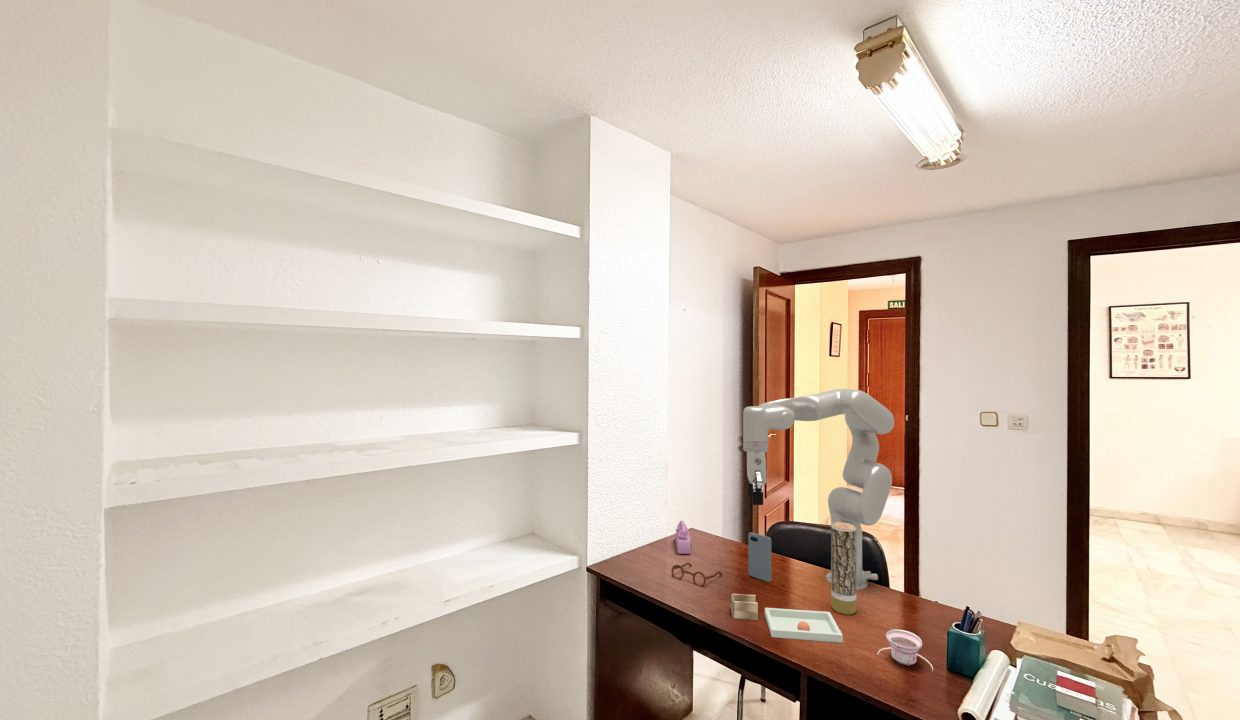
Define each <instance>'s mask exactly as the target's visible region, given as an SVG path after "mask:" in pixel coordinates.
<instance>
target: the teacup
mask: <svg viewBox="0 0 1240 720" xmlns="http://www.w3.org/2000/svg"><path fill="white" fill-rule="evenodd" d="M885 637H886V640H887V641H888V643H889V645H890V646H889V647H882V648H880V649H879V650H878V652H877V654H879V653H880V652H881V651H883V650H888V649H889V650H890V649H891V654H890V655H891V657H892V659H894V660H895V662H897V663H898V664H901V665H905V666H911V665H915V664H916V663H917V661H918V660H917V657H920V658H921V659H923V660H924V661H925V662H927V663H928V664H929V665H930V667H931V668H932V670H931V672H933V670H934V667H933V664H931V662H930V661H929V660H928V659H926V657H924V656H922V655H920V654H919V652H920V649H922V647H923V641H922V639H921V638H920V636H918V635H917V634H915V633H914V632H912V631H908V630H905V629H904V630H903V629H900V628H899V629H897V628H896V629H889V630H888V631H887V632H886V633H885Z"/></svg>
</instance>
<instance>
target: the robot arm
mask: <svg viewBox="0 0 1240 720" xmlns="http://www.w3.org/2000/svg"><path fill="white" fill-rule="evenodd" d="M841 415H844V419H845V424H846V425H847V427H848V429H849V431H850V434H851V439H852V442H851V447H850V450H849V452H848V456H847V459H846V460H845V464H844V466H843V470H842V478H843V480H844V481H845V482H846V483H847V484H848V485H850V486H853V487H856V488H859V489H862V492H861V491H858V490H855V489H852V488H849V487H845V486H843V487H842V486H840V487H836V488H833V489H832V490H831V491H830V493H829V494H828V497H827V504H828V505H827V506H828V511H829V516H830V523H831V524H832V523H835V522H843V523H849V524H852V525H854V526H856V591H861V590H864V589H866V588H867V587H868V580H871V581H878V580H879V575H878V574H877V573H872V572H871V571H870V570H864V569H863V529H862V525H864V526H873V525H875V524H876V523H878V522H879V521H880V519H881V518H882V515H883V512H884V510H885V506H886V503H887V501H888V498H889V496H890V495H889V494H890V492H891V489H892V485H893V477H892V473H891V470H890V469H889V468H888V467H887V466H886V465H884V464H882V463H879V462H877V459H878V455H879V452H880V442H879V439H878V437H877V435H885V434H889V433H890V432H891V431H892V430H893V429H894V426H895V417H894V415H893V413H892V412H891V411H890V410H889V409H888V408H887V407H886V406H884V405H883V404H882V403H880V402H879V401H878V400H876V399H875V398H874V397H872V396H871V395H870V394H868V393H867V392H865V391H862V390H861V389H860V390H859V389H850V388H848V389H847V388H836V389H831V390H826V391H822V392H819V393H814V394H809V395H802V396H796V397H795V396H794V397H789V398H783V399H782V398H781V399H777V400H773V401H768V402H764V403H761V404H759V405H758V406H756V405H755V406H754V405H753V406H752V405H751V406H746V407H745V408H744V409H743V415H742V416H743V417H742V419H743V421H742V423H743V424H742V425H743V427H742V428H743V432H742V435H743V436H742V437H743V445H742V447H743V448H742V450H743V451H744V452H746V472H747V473H746V474H747V479H748V487H747V488H748V491H747V492H748V496H749V497H752V498H751V501H752V505H753V506H764V488H763V484H764V485H767V480H768V479H767V458H766V453H767V452H769V430H778V431H785V430H787V429H790V428H792V426H793V425H794V423H795V421H797V422H815V421H821V420H824V419H827V418H832V417H836V416H841ZM876 434H877V435H876ZM831 526H832V525H830V527H831ZM825 577H826V581H827V582H828V583H829V584H831V571H830V572H827V574H826V576H825Z"/></svg>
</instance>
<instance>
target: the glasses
mask: <svg viewBox="0 0 1240 720" xmlns="http://www.w3.org/2000/svg"><path fill="white" fill-rule="evenodd" d="M686 566H690V567H693V565H692V564H691V562H685V563H683V564H682V565H680V564H675V565H673V566H672V567H671V576H672V578H673V579H677V580H678V581H681V580H682V579H683V578H684V574H688V575H691V576H692V582H693V585H694V586H697V587H700V588H703V587H705V585H706V582H707V580H709V579H712V578H715V577H716V576H717V575H720V576H721V577H723V573H722V572H721V571H716V572H715V573H714V574H712V575H709V576H706V575H705V574H704V573H703V572H701V571H695V572H694V573H693V572H691V571H688V570H684V568H685V567H686ZM676 569H680V570H681V576H680V577H679V578H678V577H677V576H675V573H674V570H676ZM697 574H699V575H701V576H702V577H703V583H702V584H698V583H697V582H696V575H697Z"/></svg>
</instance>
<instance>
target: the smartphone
mask: <svg viewBox="0 0 1240 720" xmlns="http://www.w3.org/2000/svg"><path fill="white" fill-rule="evenodd" d="M747 539H748V540H747V541H748V545H747V547H748V553H747V554H748V556H747V558H748V561H747V562H748V563H747V564H748V566H747V567H748V570H747V571H748V573H747V574H748V576H750V577H753V578H756V579H759V580H762V581H765V582H768V583H770V582H771V581H772V538H771V537H770V536H766V535H762V534H759V533H755V532H749V533H748V538H747Z"/></svg>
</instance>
